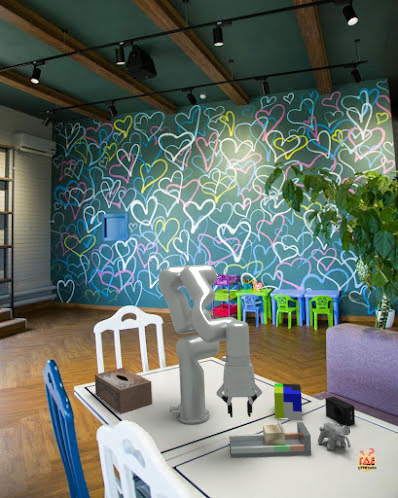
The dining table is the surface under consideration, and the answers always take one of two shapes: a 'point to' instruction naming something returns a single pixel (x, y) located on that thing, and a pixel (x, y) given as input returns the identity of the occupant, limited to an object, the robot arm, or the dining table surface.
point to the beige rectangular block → (274, 434)
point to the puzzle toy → (288, 401)
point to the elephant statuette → (334, 434)
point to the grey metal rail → (256, 447)
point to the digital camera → (340, 411)
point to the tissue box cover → (123, 390)
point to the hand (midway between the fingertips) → (240, 414)
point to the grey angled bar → (304, 436)
